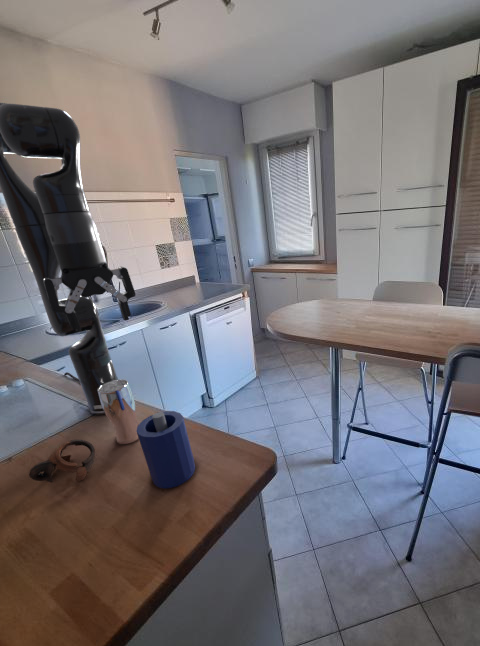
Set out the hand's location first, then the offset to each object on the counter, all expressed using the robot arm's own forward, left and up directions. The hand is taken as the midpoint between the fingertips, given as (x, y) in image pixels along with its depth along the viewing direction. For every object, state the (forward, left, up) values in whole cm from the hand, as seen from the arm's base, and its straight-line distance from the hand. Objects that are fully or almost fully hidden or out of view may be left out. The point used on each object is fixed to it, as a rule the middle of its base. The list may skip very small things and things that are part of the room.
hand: (103, 324), depth 67 cm
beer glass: (-9, -1, -32) cm, 34 cm away
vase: (+12, +3, -32) cm, 34 cm away
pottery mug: (-4, -15, -32) cm, 36 cm away
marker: (+12, +3, -31) cm, 33 cm away
